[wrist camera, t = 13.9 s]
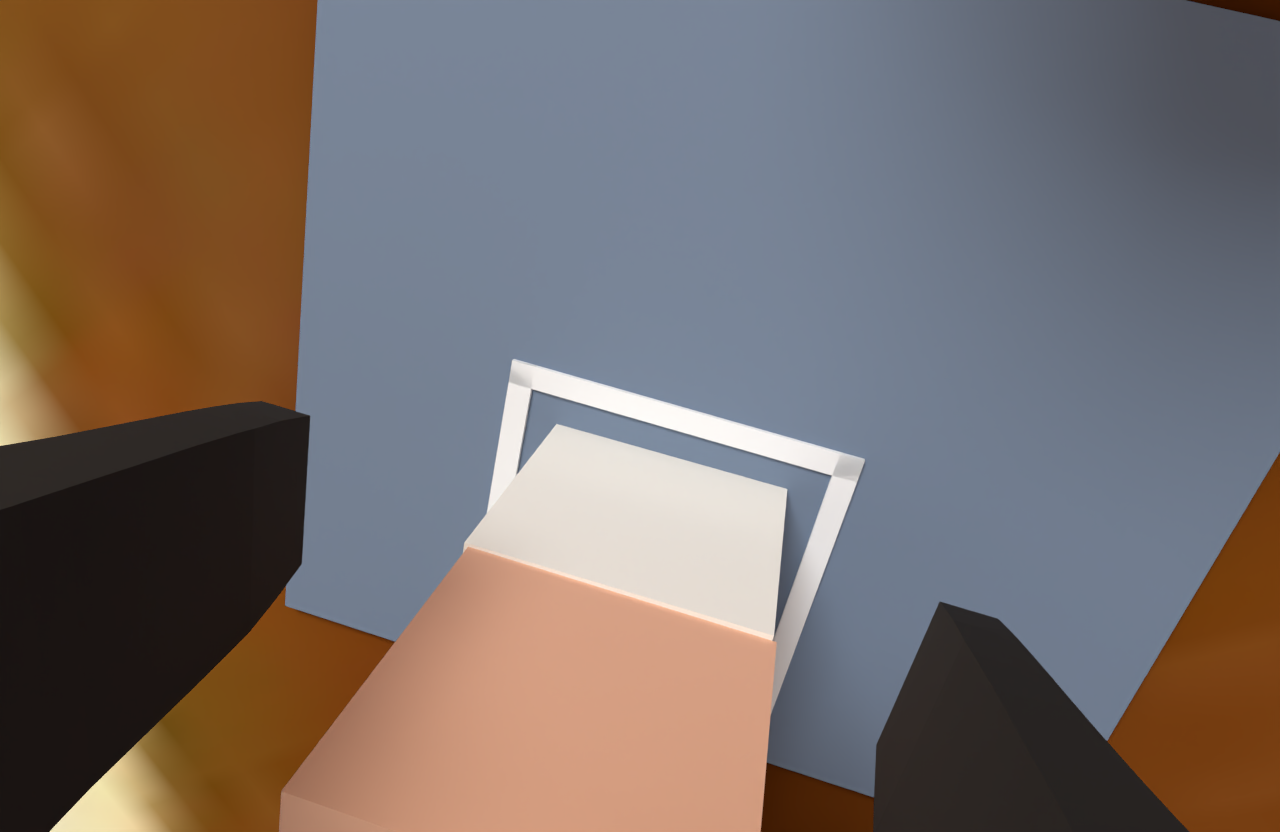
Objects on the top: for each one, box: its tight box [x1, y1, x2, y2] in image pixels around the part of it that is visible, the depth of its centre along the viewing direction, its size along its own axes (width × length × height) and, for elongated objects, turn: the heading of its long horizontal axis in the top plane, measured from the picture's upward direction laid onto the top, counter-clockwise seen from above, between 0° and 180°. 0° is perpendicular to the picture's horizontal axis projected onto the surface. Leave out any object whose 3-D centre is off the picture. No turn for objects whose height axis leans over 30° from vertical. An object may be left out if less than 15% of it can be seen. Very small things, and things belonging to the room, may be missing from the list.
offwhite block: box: [463, 424, 787, 641], centre depth 16 cm, size 5×5×5 cm
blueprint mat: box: [285, 0, 1280, 797], centre depth 17 cm, size 17×19×1 cm
